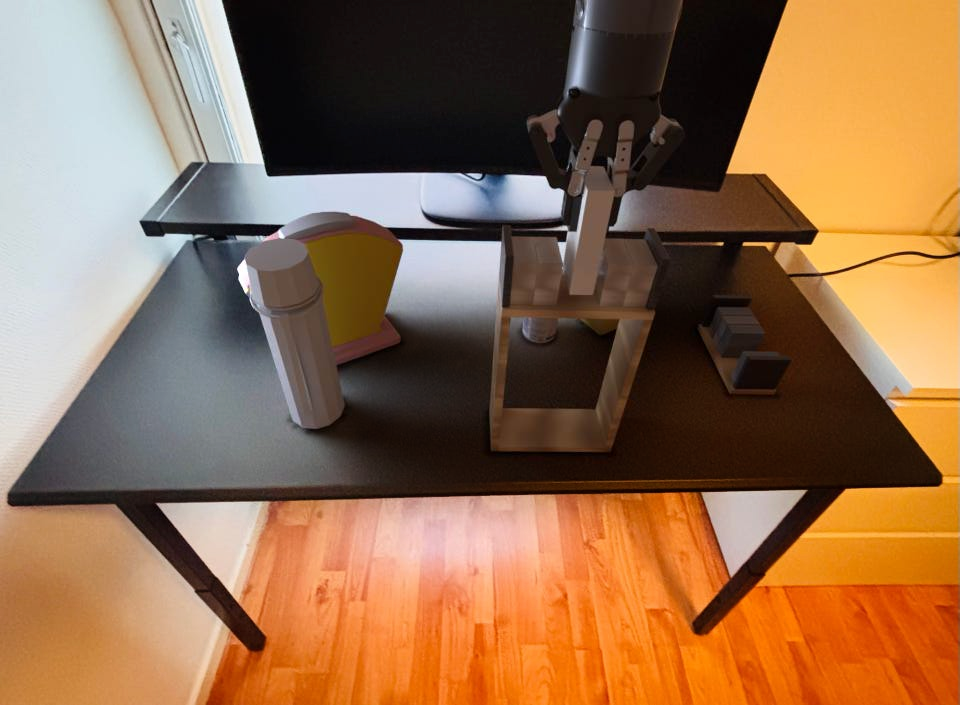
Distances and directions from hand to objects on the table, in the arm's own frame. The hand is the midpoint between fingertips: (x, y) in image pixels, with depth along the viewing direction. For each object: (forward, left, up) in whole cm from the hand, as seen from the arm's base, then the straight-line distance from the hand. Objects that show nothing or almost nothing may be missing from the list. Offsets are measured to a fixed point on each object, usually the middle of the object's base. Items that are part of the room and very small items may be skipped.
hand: (586, 227), depth 51 cm
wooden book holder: (0, 0, -9) cm, 9 cm away
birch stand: (0, 0, -31) cm, 31 cm away
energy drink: (+15, -14, -31) cm, 37 cm away
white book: (0, 0, -6) cm, 6 cm away
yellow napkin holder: (+33, +12, -31) cm, 47 cm away
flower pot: (+10, -24, -31) cm, 40 cm away
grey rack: (-9, -33, -31) cm, 46 cm away
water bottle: (+22, +22, -31) cm, 44 cm away
